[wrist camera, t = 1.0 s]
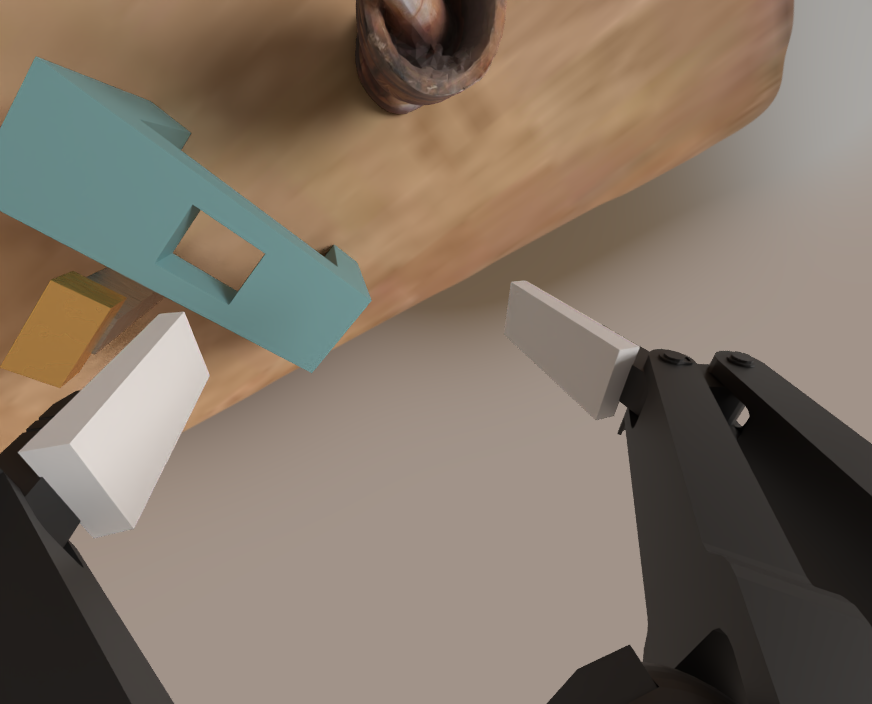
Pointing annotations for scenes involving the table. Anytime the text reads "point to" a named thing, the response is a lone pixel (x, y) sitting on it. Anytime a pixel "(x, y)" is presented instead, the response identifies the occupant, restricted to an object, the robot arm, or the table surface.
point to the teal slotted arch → (162, 213)
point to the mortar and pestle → (424, 48)
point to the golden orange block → (76, 323)
